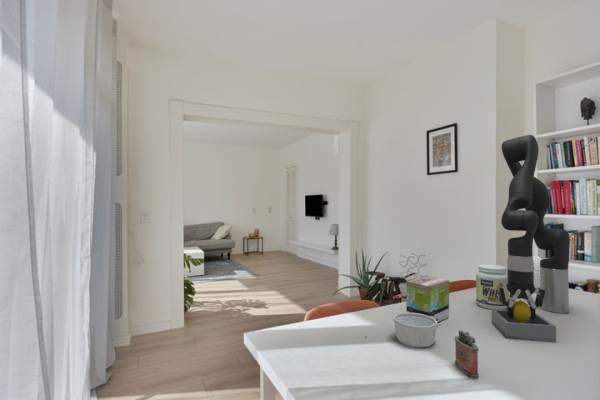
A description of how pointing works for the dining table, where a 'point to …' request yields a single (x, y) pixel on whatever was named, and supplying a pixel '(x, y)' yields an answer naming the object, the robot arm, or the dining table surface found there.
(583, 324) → the dining table surface
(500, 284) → the supplement tub
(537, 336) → the bin
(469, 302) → the dining table surface
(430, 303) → the tea box
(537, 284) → the white textured ornament
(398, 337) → the ramekin
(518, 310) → the lemon
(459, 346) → the lighter
